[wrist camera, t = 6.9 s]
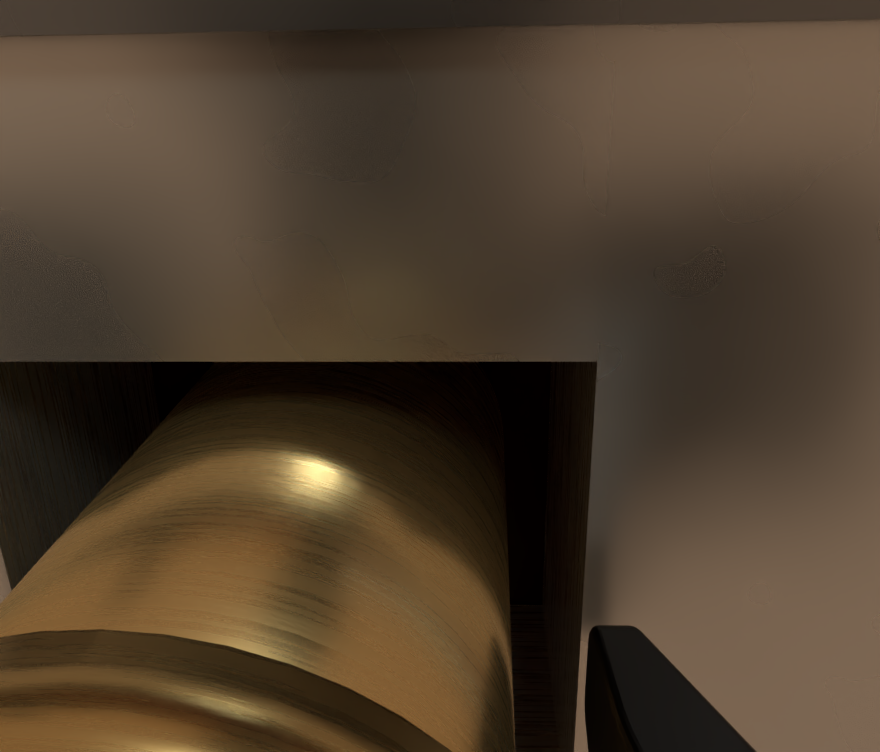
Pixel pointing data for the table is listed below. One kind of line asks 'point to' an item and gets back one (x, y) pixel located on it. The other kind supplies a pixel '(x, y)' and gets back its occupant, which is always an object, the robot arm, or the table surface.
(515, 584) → the table surface
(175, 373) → the table surface
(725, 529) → the jig
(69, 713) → the door knob
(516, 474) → the table surface
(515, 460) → the table surface
